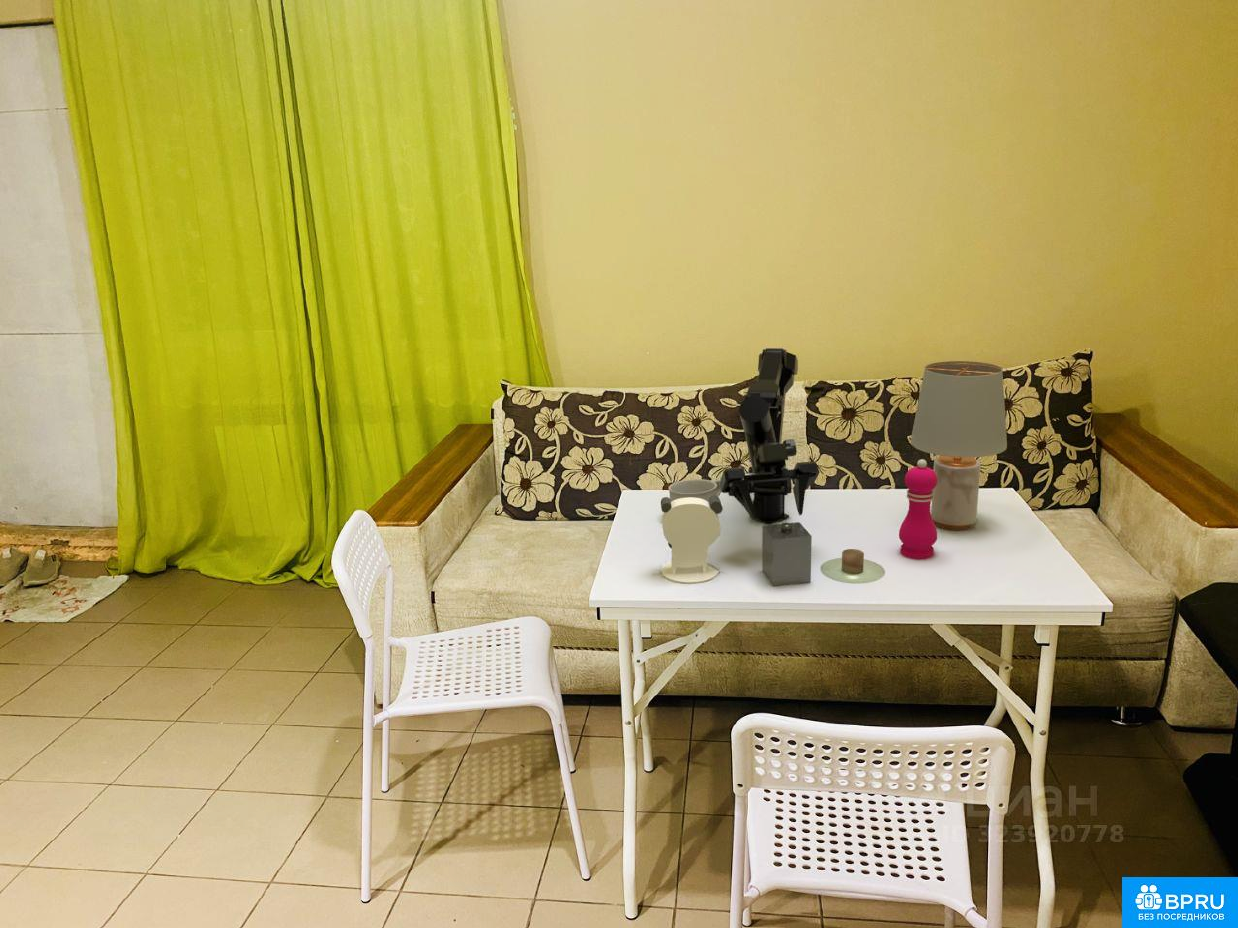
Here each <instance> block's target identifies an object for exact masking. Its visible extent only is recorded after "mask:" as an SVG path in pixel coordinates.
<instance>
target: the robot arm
mask: <svg viewBox="0 0 1238 928" xmlns="http://www.w3.org/2000/svg"><path fill="white" fill-rule="evenodd" d="M798 370H799V361H798V357H797V355H796V354H794V353H791V352H788V351H787V349H784V348H783V347H782V348H779V347H777V348H776V347H775V348H773V347H770V348H769V347H767V348H764V349H762V352H761V353H760V354H758V365H757V371H758V377H757V380H756V382H754V383H751V384H750V385H748V389H747V391H746V394H743V397H742V399H741V402H740V404H739V406H738V413H739V417H740V421H741V425H742V428H743V432H744V436H745V441H746V446H747V451H748V455H749V456H748V461H749V463H750V464H751V466H749V468H748V472H746V471H745V468H743V466H741V467H728V468H724V470H723V471H722V474H721V477H720V479H719V480H720V487H721V493H723V494H727V495H728V496H729V497H734V498H735V499H736V500H737V501H738V502H739V503H740V504H741V506H742V507H743V508H744V509H745V511H746V512H747V513H748V515H749V517H750V518H751V519H752V520H757V521H760V522H762V523H764V524H766V525H771V524H773V523H776V522H780V521H783V520H786V519H789V518H790V515H789V514H786V513H785V508H786V507H785V501H786V500H785V496H788V494H792V492H793V496H794V500H795V501H794V502H795V504H796V510H797V513H798V515H799V516H802V515H803V512H804V502H805V495H806V490H808V489H809V488H810V486H813V485H814V484H815V482H816V480H817V478H818V476H819V475H820V473H821V472H820V469H819V465H818V464H817V463H816V462H815V461H801V462H796V464H795V466H794V467H793V469H789V468H787V464H786V461H788V460H789V457H794V456H796V455H797V454H798V453H797V452H798V449H797V445H796V442H795V438H791V439H785V440H783V439H782V436H783V425H784V415H785V407H786V406H785V403H786V395H787V393H788V392H789V391H790V389H791V388H793V386H794V382H795V376H796V375H798V373H799V372H798ZM782 440H783V441H782ZM792 484H793V485H794V486H793V485H792ZM792 487H793V488H792ZM751 494H753V499H752V497H751Z"/></svg>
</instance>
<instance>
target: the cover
mask: <svg viewBox="0 0 1238 928" xmlns="http://www.w3.org/2000/svg"><path fill="white" fill-rule="evenodd" d="M761 527H762V532H761V535H762V537H761V538H762V540H761V541H762V544H761V545H762V548H761V549H762V557H761V559H762V562H761V563H762V568H761V569H762V570H761V571H762V573H763V574H764V576H765V578H767V580H768V581H769V583H770V584H771V586H772V587H775V588H776V587H783V586H784V587H785V586H794V585H795V586H796V585H805V584H810V583H811V582H812V580H811V579H812V576H811V575H812V534H810V533H809V531H808V530H807V529H806V528H805V527H804V526H803V525H802V524H801V522H799V521H798V522H797V521H796V522H781V523H775V524H773V523H772V524H766V525H764V524H763V525H762V526H761Z"/></svg>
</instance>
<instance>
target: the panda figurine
mask: <svg viewBox="0 0 1238 928" xmlns="http://www.w3.org/2000/svg"><path fill="white" fill-rule="evenodd" d="M660 507H661V508H660V509H661V512H662V517H661V518H662V519H661V525H662V532H663V536H664V538H665V540H666V542H667V544H668V547H669V548H670V549H671V561H669V562H667V563H665V564H664V565H663V566H662V567H661V569H660V573H661V574H660V575H661V576H662V577H663V578H664V579H666V580H668V581H670V582H673V583H677V584H684V585H687V584H688V585H692V584H693V585H694V584H702V583H703V584H704V583H706V582H710V581H712V580H714V579H715V578H717V577H718V576H719V574H720V569H719V568H717V567H715V566H713V565H711V564H710V563H708V562H710V560H708V553H709V547H710V546H712V545H713V544H714V543H715V542H716V541H717V539H718V538H719V536H720V535H721V532H722V531H721V530H722V525H721V522H720V519H719V515H720V514H721V513H722V511H723V506H722V501H721V499H720V497H719V496H718V497H717V496H715V495H713V496H711V497H710V498H709V502H707V501H706V500H704V499H701V498H694V497H687V498H680V499H676V500H674V501H672V502H671V501H670V497H668V496H664V497H662V498H661V499H660Z"/></svg>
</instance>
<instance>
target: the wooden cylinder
mask: <svg viewBox="0 0 1238 928" xmlns="http://www.w3.org/2000/svg"><path fill="white" fill-rule="evenodd" d="M841 552H842V553H841V558H842V571H843V572H845V573H847V574H860V573H862V572H863V564H864V559H865V552H863V551H862V550H860V549H855V548H848V549H844V550H842V551H841Z"/></svg>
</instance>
